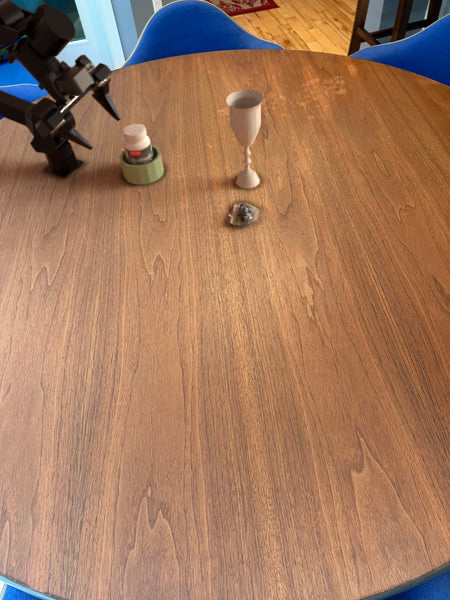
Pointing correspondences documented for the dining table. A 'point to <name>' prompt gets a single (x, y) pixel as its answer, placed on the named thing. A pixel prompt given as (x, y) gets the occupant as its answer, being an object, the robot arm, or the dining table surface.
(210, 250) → the dining table surface
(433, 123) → the dining table surface
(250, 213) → the grey flat irregular piece
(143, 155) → the pill bottle
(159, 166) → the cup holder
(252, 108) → the chalice
